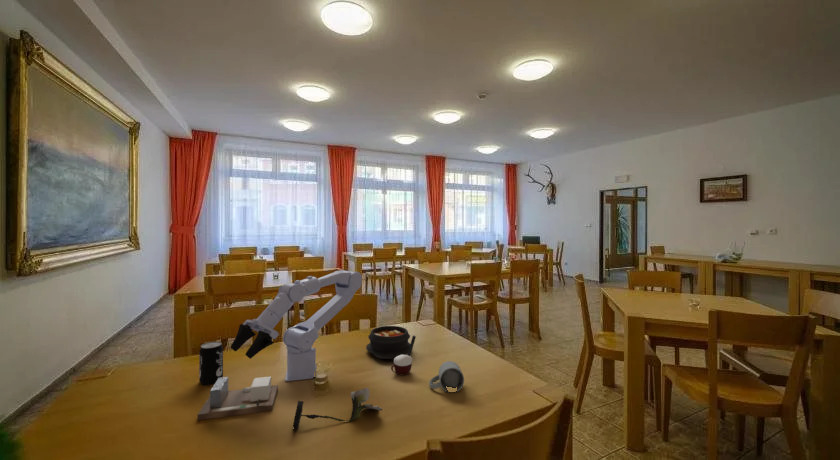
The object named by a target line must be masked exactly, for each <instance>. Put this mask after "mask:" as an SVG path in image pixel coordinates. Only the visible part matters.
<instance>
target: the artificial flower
mask: <svg viewBox="0 0 840 460" xmlns="http://www.w3.org/2000/svg"><path fill="white" fill-rule="evenodd" d="M370 396H371V392H370V390H369V388H368V387H365V388H362V389H358V390H356V391H351V392H350V397H351V403H352V409H351V410H352V411H351V415H350V418H349V420H348V421H351V422H352V421H354V420H356V419H358V418H359V416H360V414H361V412H362V411H363V410H364V409H365V410H375V411H381V412H382V411H383V407H380V406H379V405H375V406H374V405H373V404H370V403H365V402H367V401H368V400H369V398H370ZM363 403H365V404H363ZM303 406H304V401H303V400H298V401H297V403H296V409H295V413H294V417H293V423H292V424H293V425H292V431H295V430H296V431H297V430H298V429H299V426H300V423H301V420H302V419H301V418H302V417H306V418H308V419H312V420H314V419H319V418H320V419H322V418H323V419H327V420H328V419H331V420H335V421H338V422H341V421H345V420H346V419H341V418H337V417H333V416H329V415H319V414H303ZM293 428H294V429H293Z"/></svg>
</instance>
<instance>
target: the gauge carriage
mask: <svg viewBox="0 0 840 460" xmlns="http://www.w3.org/2000/svg"><path fill="white" fill-rule="evenodd" d="M271 386H272V376H263V377H262V376H261V377H254V379H253V381H252V383H251V385H250V387H248V386H247V387H243V388H242V389H243V391H242V392H243V393H251V402H253V401H258V402H257V405H259V403H260V401H261V400H268V398H269V395H270V392H271Z"/></svg>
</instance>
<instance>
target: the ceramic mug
mask: <svg viewBox="0 0 840 460" xmlns="http://www.w3.org/2000/svg"><path fill="white" fill-rule="evenodd" d="M437 381H438V382H437ZM433 382H434V383H433ZM428 384H429V387H430V388H431V389H432V388H433V390H436V389H439V388H441V389H442V390H443V391H444V392H446V391H448V390H447V388H446V386H447V387H452V388H456V387H457V392H459V391H460V390H461V389H462V388H463V387H464V384H465V376H464V374H463V371H462V369H461V367H460V365H459V364H457V362H455V361H453V360H448V361H444V362H443V363H442V364H441V365H440V367H439V370H438V374H437V375H435V376H433V377H432V378H431V379H430V380H429V382H428Z"/></svg>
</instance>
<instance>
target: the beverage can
mask: <svg viewBox="0 0 840 460" xmlns="http://www.w3.org/2000/svg"><path fill="white" fill-rule="evenodd" d="M198 351H199V352H198V353H199V355H198V358H199V360H198V361H199V362H198V363H199V370H198V371H199V372H198V373H199V377H198V379H199V380H198V381H199V383H200V384H201V385H204V386H207V385H208V386H210V385H214V384H215V383H216V381H217V380H218V378H222V377H224V346H223V345H222V342H221V341H210V342H208V341H207V342H205V343H203V344H201V345H200V349H199V350H198Z"/></svg>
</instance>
